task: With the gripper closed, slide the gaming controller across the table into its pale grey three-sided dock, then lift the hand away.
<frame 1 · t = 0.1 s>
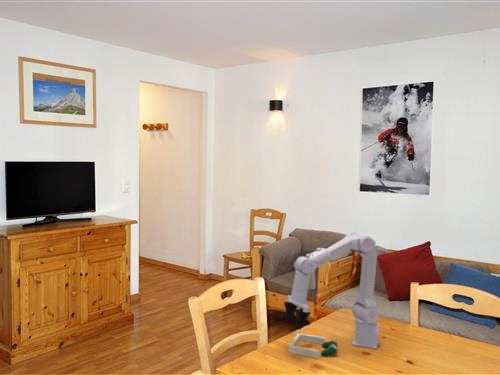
hand: (293, 325, 168), 11 cm above the table, tool pointing down, fingers open, 7 cm apart
controller dock: (308, 348, 173), on the table
gaming controller: (329, 353, 170), on the table
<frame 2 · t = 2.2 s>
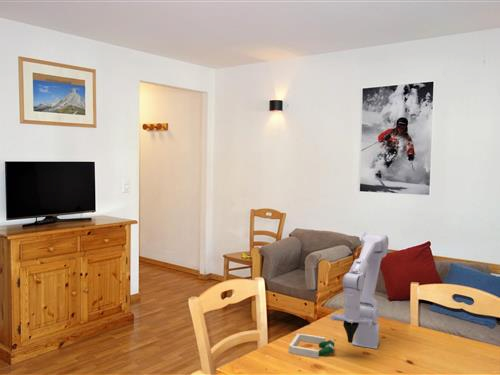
hand: (350, 341, 167), 5 cm above the table, tool pointing down, fingers closed
gaming controller: (326, 352, 170), on the table
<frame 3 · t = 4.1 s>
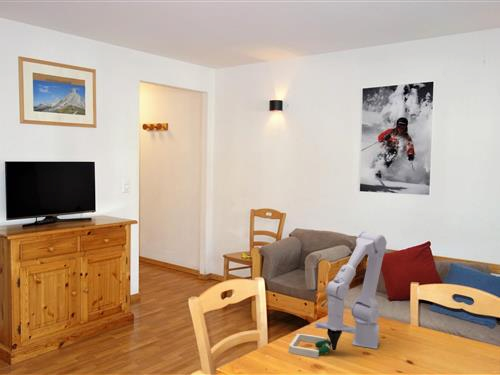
hand: (334, 349, 169), 1 cm above the table, tool pointing down, fingers closed
gaming controller: (322, 352, 171), on the table, touching gripper
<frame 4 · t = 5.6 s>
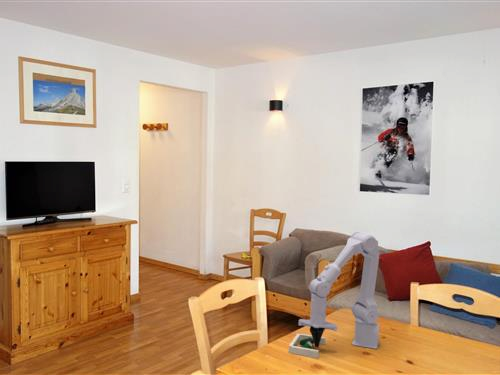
hand: (316, 346, 172), 1 cm above the table, tool pointing down, fingers closed
gaming controller: (305, 349, 173), on the table
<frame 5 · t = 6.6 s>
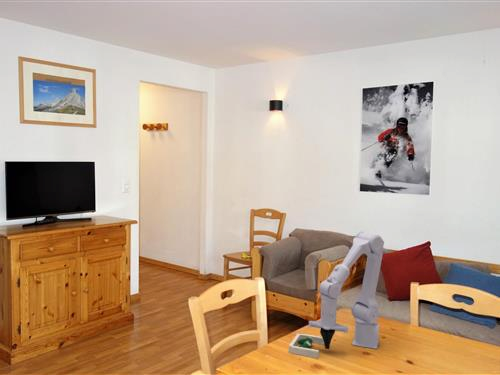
hand: (327, 348, 170), 1 cm above the table, tool pointing down, fingers closed
nothing on the table moved.
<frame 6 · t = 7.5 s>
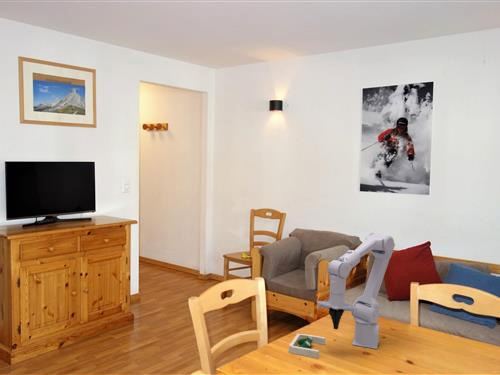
hand: (336, 328, 169), 9 cm above the table, tool pointing down, fingers closed
nothing on the table moved.
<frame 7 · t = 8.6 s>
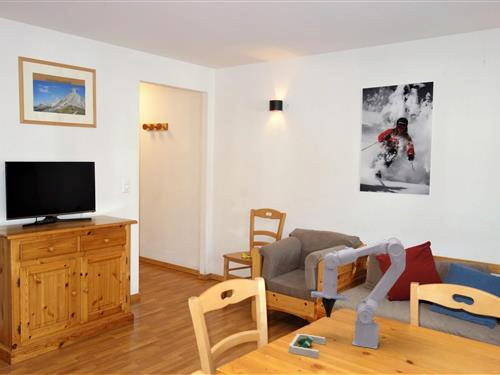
hand: (328, 316, 182), 9 cm above the table, tool pointing down, fingers closed
nothing on the table moved.
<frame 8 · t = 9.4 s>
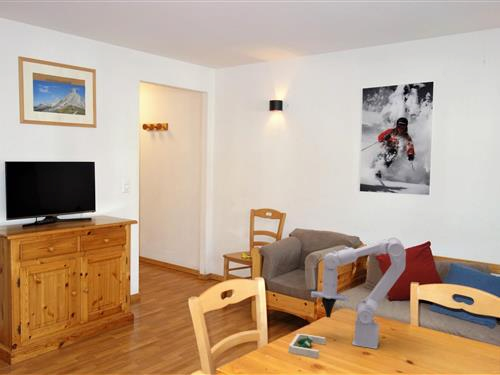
hand: (328, 316, 182), 9 cm above the table, tool pointing down, fingers closed
nothing on the table moved.
at the end: gaming controller 1.7 cm off-centre on the controller dock, point 0.0 cm above the controller dock's base; gaming controller tilted 0°; the gripper is holding nothing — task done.
